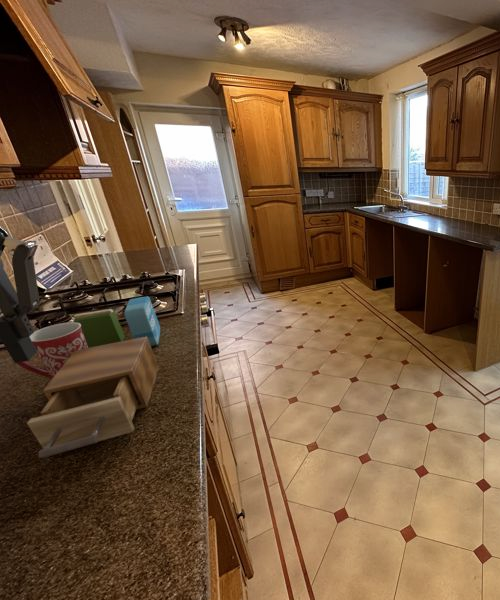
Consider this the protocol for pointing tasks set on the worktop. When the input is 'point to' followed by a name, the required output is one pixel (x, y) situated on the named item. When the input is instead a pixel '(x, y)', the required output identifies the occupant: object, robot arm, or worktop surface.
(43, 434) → the drawer
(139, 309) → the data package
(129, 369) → the cabinet
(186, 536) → the worktop surface
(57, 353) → the mug
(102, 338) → the green block
